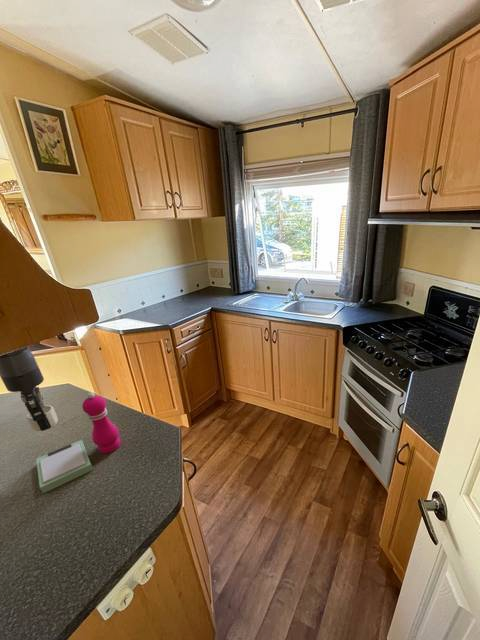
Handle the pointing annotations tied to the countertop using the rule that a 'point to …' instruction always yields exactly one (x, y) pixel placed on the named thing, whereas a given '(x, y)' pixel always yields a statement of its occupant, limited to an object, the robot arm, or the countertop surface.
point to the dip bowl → (50, 416)
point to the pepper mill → (101, 424)
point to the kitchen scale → (62, 466)
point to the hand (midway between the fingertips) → (45, 423)
